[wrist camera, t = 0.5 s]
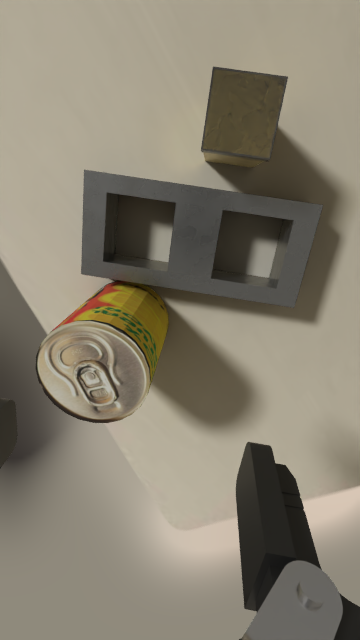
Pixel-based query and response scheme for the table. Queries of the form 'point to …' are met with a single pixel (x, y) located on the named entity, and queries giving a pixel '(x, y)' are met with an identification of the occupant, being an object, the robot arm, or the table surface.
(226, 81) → the tan banded block
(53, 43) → the table surface
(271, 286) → the cinder block
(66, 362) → the beverage can
